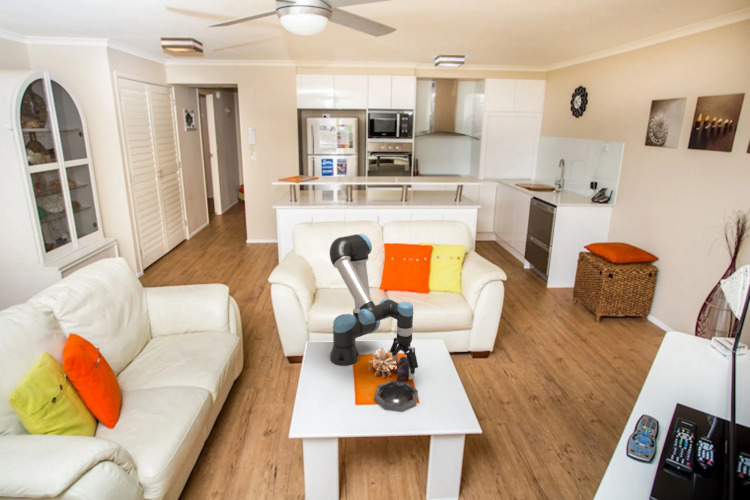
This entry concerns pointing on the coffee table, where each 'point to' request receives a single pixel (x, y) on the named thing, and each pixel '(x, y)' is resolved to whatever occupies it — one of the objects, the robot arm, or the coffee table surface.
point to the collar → (396, 395)
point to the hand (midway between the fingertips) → (403, 372)
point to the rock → (402, 369)
